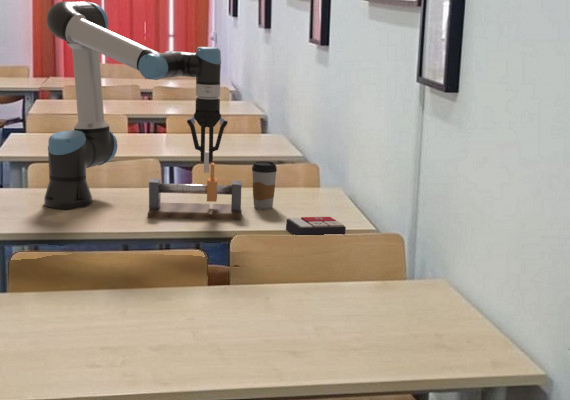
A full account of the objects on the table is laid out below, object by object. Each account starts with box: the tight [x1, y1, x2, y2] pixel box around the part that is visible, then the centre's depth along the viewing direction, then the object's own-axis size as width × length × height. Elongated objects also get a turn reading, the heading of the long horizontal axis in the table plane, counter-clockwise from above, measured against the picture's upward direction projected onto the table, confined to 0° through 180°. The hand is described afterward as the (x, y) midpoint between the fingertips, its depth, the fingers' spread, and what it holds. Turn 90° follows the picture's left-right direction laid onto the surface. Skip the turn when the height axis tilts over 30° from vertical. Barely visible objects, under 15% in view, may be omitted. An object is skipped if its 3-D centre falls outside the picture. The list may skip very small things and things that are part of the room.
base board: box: [147, 202, 242, 221], centre depth 263 cm, size 29×14×2 cm, turn 93°
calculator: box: [285, 216, 347, 235], centre depth 247 cm, size 11×4×15 cm
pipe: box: [148, 177, 242, 213], centre depth 262 cm, size 29×6×9 cm, turn 93°
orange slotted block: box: [206, 162, 218, 203], centre depth 261 cm, size 3×6×11 cm, turn 3°
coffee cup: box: [251, 160, 278, 210], centre depth 272 cm, size 8×8×15 cm
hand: (206, 171), depth 260 cm, fingers closed
